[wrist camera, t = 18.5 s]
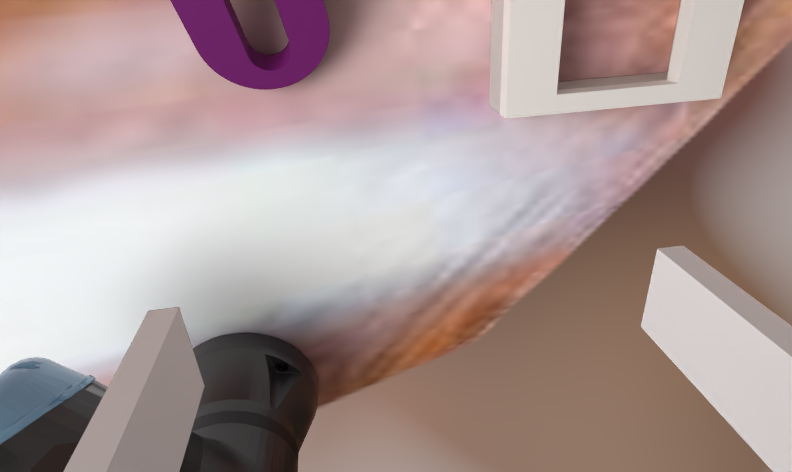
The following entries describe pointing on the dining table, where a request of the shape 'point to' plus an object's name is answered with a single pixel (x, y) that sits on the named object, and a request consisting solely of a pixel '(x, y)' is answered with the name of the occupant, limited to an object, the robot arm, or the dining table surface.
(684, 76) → the keyhole plate
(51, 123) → the dining table surface
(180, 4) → the mounting bracket
